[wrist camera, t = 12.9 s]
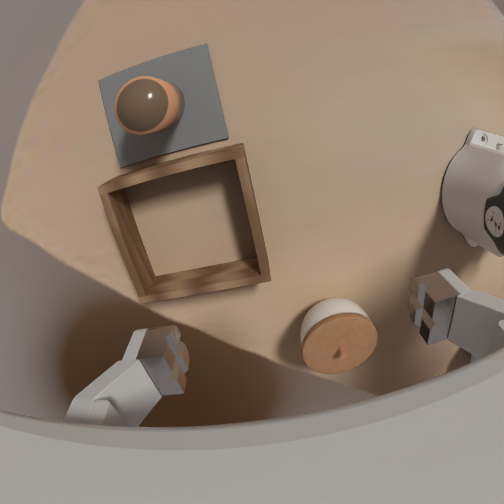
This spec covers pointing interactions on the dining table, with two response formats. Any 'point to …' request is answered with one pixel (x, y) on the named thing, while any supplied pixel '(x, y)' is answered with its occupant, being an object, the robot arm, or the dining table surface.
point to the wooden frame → (191, 279)
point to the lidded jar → (336, 336)
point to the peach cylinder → (148, 105)
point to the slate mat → (195, 113)
